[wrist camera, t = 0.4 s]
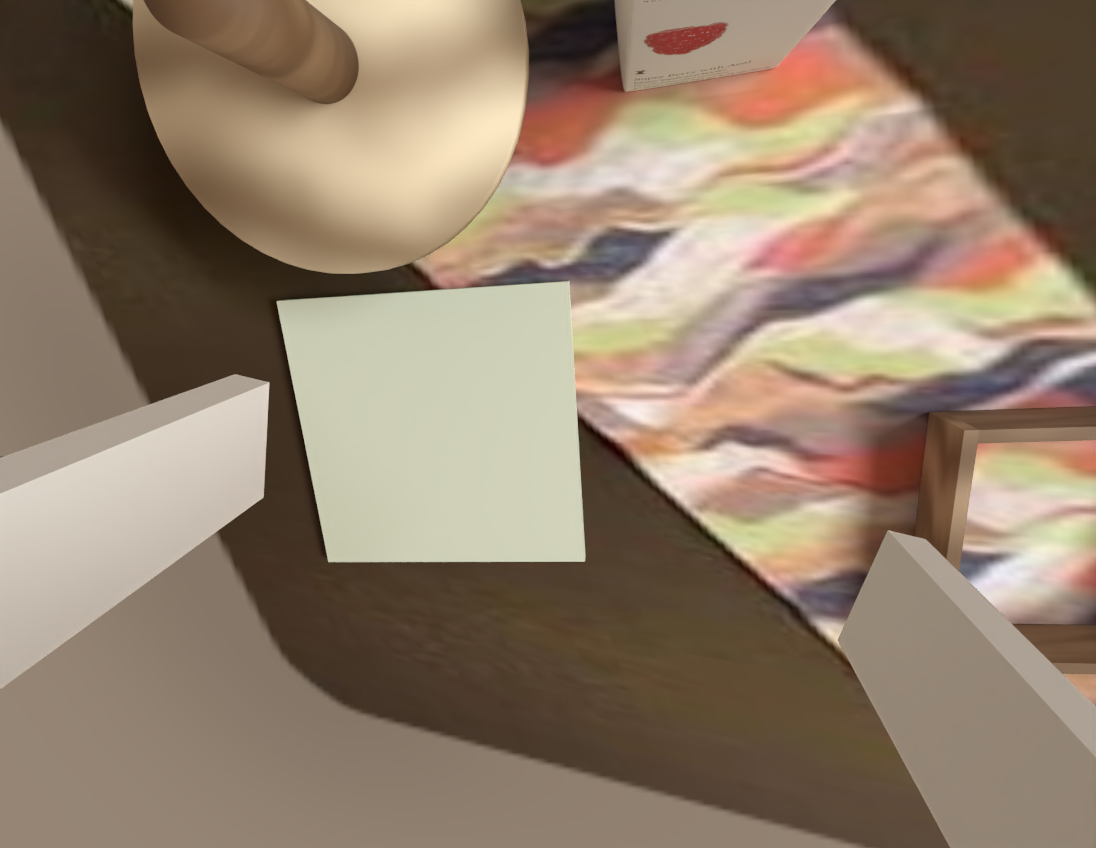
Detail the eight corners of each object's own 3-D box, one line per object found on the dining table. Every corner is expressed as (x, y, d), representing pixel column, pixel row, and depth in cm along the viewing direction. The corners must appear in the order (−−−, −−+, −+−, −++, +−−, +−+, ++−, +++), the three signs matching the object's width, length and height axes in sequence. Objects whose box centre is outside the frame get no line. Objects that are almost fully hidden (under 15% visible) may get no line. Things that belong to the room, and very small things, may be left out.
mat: (282, 300, 40) (276, 300, 39) (569, 280, 38) (568, 281, 37) (333, 556, 46) (328, 562, 45) (585, 555, 43) (584, 561, 42)
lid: (107, -142, 27) (-187, -367, 17) (513, -209, 24) (443, -517, 14) (201, 282, 32) (18, 296, 22) (541, 262, 30) (503, 269, 20)
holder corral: (929, 412, 37) (964, 430, 33) (1224, 402, 35) (1298, 420, 31) (902, 632, 42) (930, 670, 38) (1162, 636, 40) (1219, 677, 36)
